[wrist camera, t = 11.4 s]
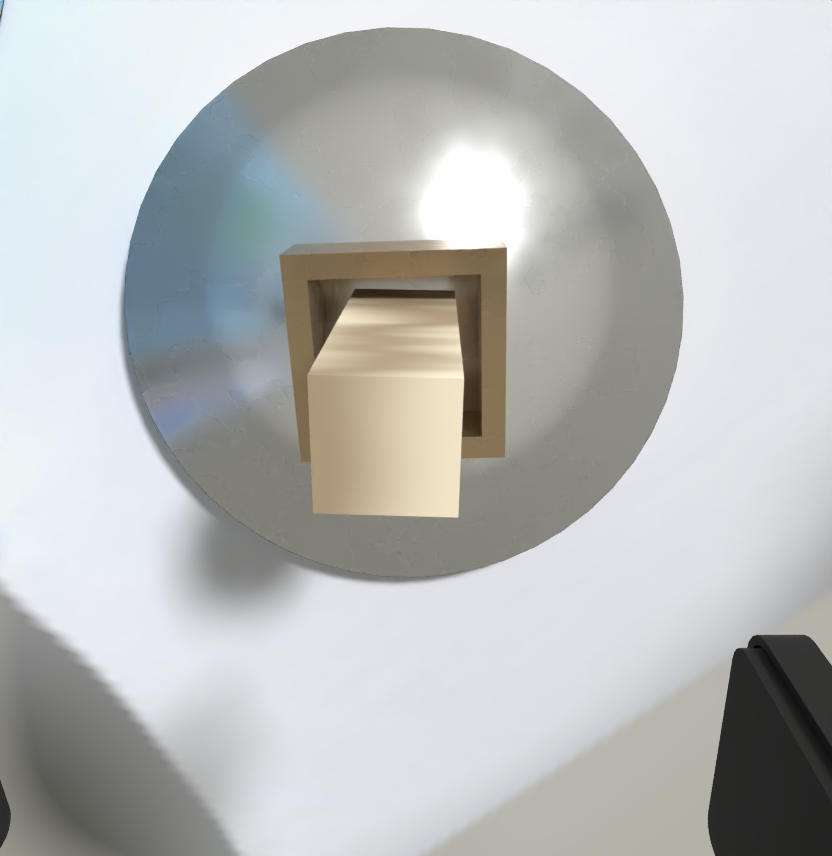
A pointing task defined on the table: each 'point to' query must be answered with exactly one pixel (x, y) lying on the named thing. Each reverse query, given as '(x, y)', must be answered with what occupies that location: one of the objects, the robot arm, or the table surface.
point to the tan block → (388, 407)
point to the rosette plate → (406, 286)
